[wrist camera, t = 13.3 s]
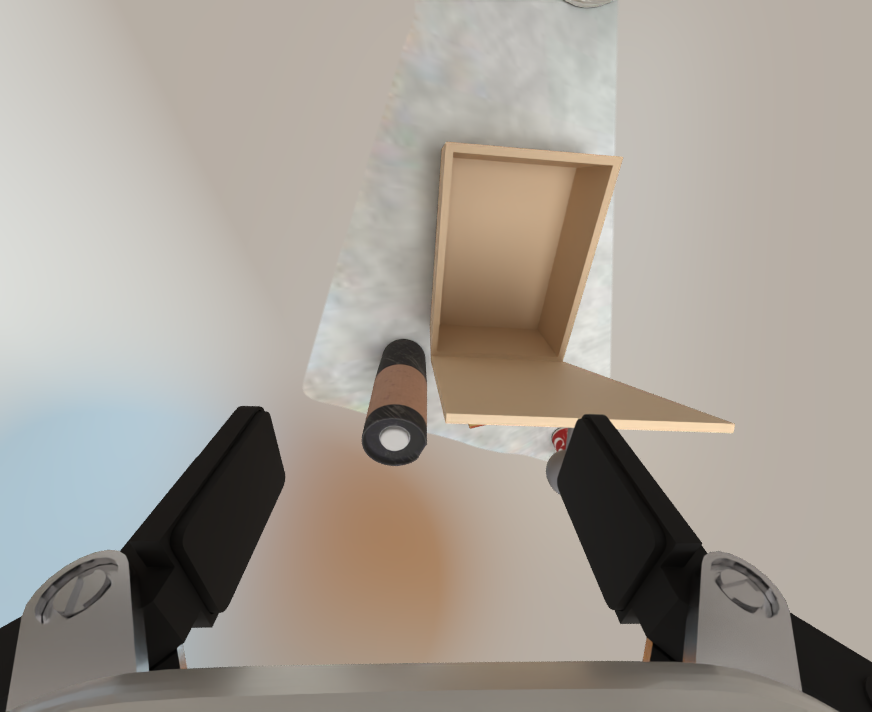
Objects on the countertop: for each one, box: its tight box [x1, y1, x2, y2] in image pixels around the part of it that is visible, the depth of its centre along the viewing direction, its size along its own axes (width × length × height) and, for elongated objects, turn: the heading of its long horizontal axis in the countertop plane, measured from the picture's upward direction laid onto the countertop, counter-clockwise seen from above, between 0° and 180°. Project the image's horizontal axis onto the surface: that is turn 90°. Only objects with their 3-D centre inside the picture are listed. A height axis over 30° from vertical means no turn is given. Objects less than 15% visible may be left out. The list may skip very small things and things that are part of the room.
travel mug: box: [362, 339, 427, 466], centre depth 46 cm, size 8×8×20 cm
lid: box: [431, 356, 735, 494], centre depth 32 cm, size 24×18×6 cm
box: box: [430, 142, 623, 362], centre depth 42 cm, size 24×18×10 cm
